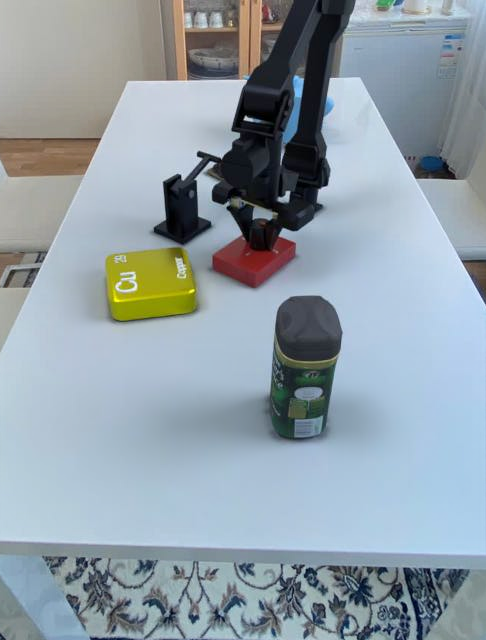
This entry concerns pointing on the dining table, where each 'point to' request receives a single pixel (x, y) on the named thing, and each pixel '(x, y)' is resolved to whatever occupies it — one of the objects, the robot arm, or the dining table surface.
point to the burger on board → (215, 171)
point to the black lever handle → (195, 171)
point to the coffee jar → (303, 365)
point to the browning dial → (258, 234)
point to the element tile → (150, 284)
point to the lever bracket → (181, 213)
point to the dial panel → (252, 260)
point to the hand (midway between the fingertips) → (259, 245)
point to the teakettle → (297, 109)
